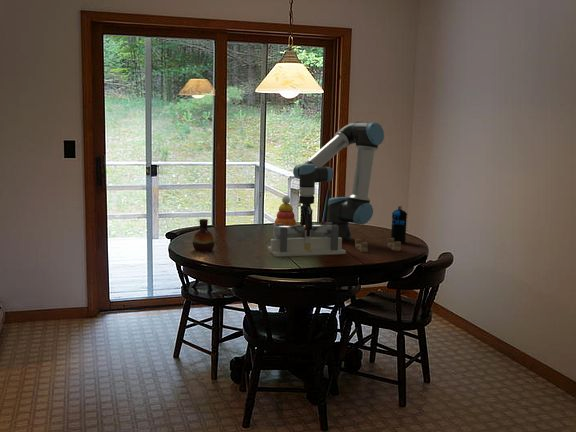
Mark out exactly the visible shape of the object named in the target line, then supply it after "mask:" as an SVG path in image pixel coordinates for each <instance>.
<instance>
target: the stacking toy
mask: <svg viewBox="0 0 576 432" xmlns="http://www.w3.org/2000/svg"><path fill="white" fill-rule="evenodd" d="M281 200H282V201H281V202H282V204H280V206H279V207H278V211H277V213H276V218H275V220H274V223H273V227H274V226H276V224H278V223H282V224H283V226H298V223H297V221H296V218H295V213H294V211H293V210H294V209H293V206H292V205H291V204H290V201H291V198H290V196H289V195H283V197H282V199H281Z"/></svg>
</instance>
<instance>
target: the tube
mask: <svg viewBox="0 0 576 432" xmlns="http://www.w3.org/2000/svg"><path fill="white" fill-rule="evenodd" d="M332 226H338V225H337V224H336V225H326V224H312V229H311V238H324V237H331V228H332ZM280 227H287V239H296V238H302V237H305V230H304V229H306V226H305V225H300V224H299V225H297V226H274V225H273V228H272V229H273V233H272V234H273V239H276V238H280ZM338 232H339V230H338Z"/></svg>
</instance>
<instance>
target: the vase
mask: <svg viewBox="0 0 576 432" xmlns="http://www.w3.org/2000/svg"><path fill="white" fill-rule="evenodd" d="M198 221H199V230H197V231H195V233H194V234H193V237H192V239H191V240H192V241H191V242H192V243H191V244H192V246H193V247H192V248H193V249H194V251H196V252H198V251H200V252H199V253H207V252H206V251H209V252H212V251H213V249H214V248H215V244H216V238H215V236H214V234H213V232H211V231H210V230H209V229H208V224H209V220H208V218H207V219H206V218H201V219H199V220H198Z"/></svg>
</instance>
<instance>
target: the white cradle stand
mask: <svg viewBox="0 0 576 432" xmlns="http://www.w3.org/2000/svg"><path fill="white" fill-rule="evenodd" d="M325 225H333V223H332V222H328V221H326V222H325ZM276 226H283V224H282V223H278V224H276ZM338 230H339V226H332V228H331V237H325V238H324V237H311V238H310V243H305V238H287V227H280V238H272V239H270V245H267V250H268V251H269V252H270V254H272V255H273V256H274V257H293V256H294V257H296V256H297V257H298V256H299V257H300V256H323V255H346V254H347V250H346V249H344V248H343V246H342V245H343V241H342V238H341V237H338Z"/></svg>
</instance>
